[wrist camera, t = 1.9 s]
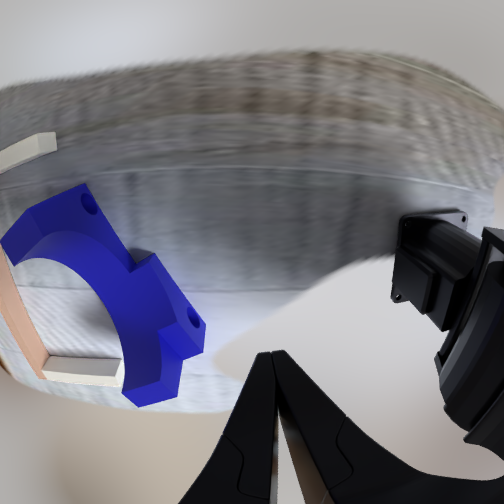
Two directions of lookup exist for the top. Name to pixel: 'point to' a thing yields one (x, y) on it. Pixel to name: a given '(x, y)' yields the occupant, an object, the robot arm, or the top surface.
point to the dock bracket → (15, 315)
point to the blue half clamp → (116, 289)
